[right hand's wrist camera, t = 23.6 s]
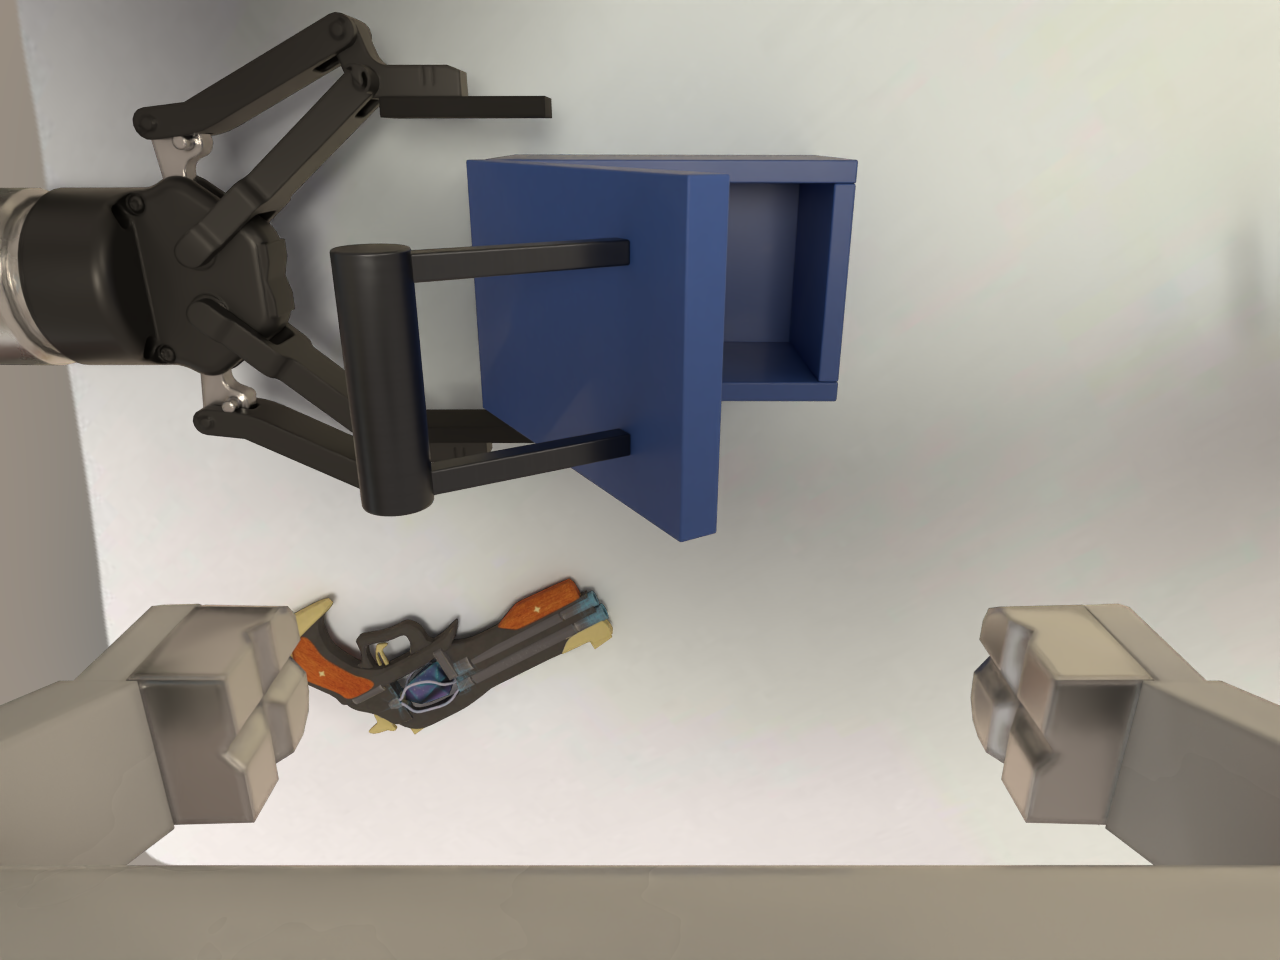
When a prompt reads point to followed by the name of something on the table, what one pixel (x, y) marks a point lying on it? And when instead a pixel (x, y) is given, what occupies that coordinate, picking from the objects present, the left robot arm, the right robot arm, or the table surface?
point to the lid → (556, 338)
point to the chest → (774, 266)
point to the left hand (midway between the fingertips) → (556, 277)
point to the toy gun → (446, 656)
